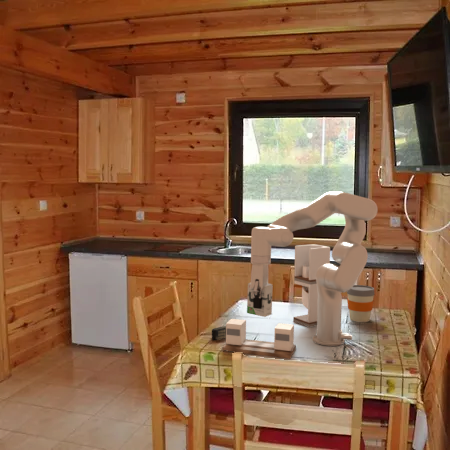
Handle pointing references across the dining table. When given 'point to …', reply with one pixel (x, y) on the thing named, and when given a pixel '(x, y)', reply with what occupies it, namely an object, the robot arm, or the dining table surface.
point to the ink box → (266, 301)
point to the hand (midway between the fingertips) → (259, 305)
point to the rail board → (260, 349)
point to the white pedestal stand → (309, 278)
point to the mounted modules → (281, 338)
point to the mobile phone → (219, 333)
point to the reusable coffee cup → (360, 302)
